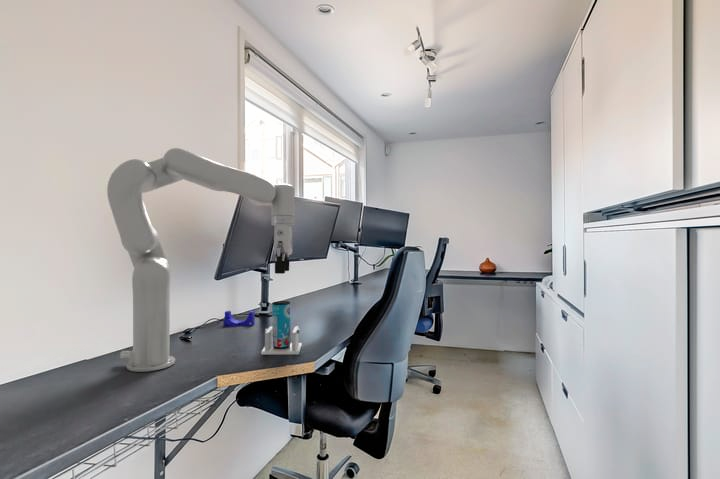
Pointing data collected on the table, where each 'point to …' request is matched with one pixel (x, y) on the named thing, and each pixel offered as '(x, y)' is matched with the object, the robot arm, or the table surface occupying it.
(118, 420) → the table surface
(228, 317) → the cable clip
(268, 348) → the clip holder
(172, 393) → the table surface
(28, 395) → the table surface
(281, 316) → the beverage can
